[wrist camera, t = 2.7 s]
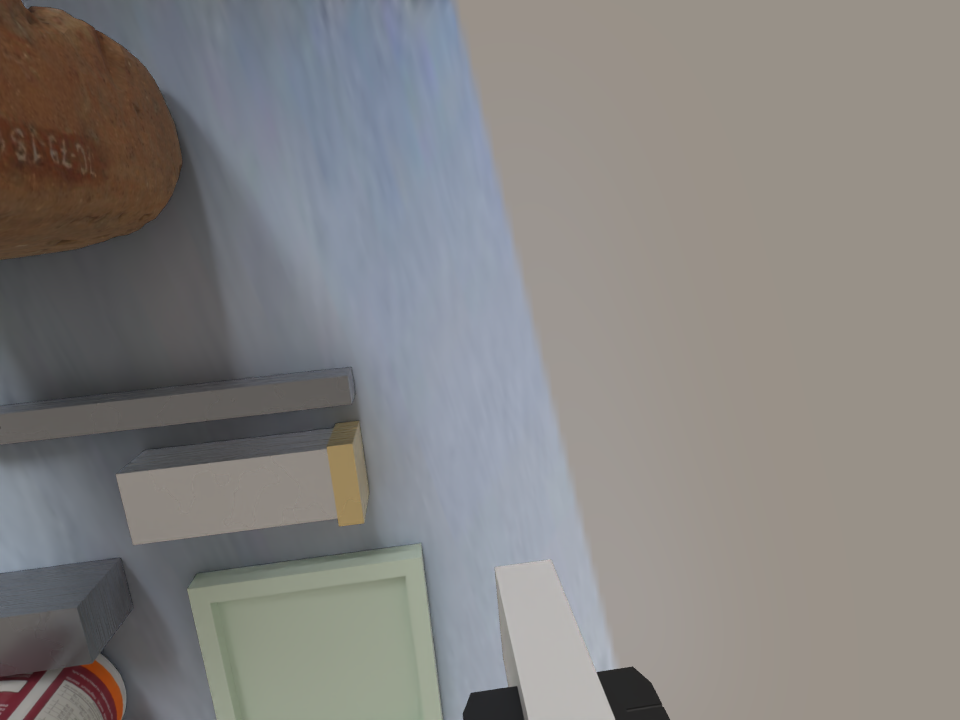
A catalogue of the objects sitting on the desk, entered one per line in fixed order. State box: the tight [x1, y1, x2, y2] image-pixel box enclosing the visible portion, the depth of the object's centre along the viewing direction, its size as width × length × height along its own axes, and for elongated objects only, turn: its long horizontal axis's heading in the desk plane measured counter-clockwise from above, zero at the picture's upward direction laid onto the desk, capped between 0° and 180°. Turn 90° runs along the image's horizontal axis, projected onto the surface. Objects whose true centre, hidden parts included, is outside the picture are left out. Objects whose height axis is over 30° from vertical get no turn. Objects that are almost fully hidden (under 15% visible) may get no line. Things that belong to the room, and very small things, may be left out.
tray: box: [187, 543, 443, 720], centre depth 28 cm, size 10×10×1 cm
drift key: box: [116, 421, 369, 545], centre depth 25 cm, size 3×9×3 cm, turn 95°
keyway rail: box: [0, 367, 355, 445], centre depth 24 cm, size 1×15×2 cm, turn 95°
